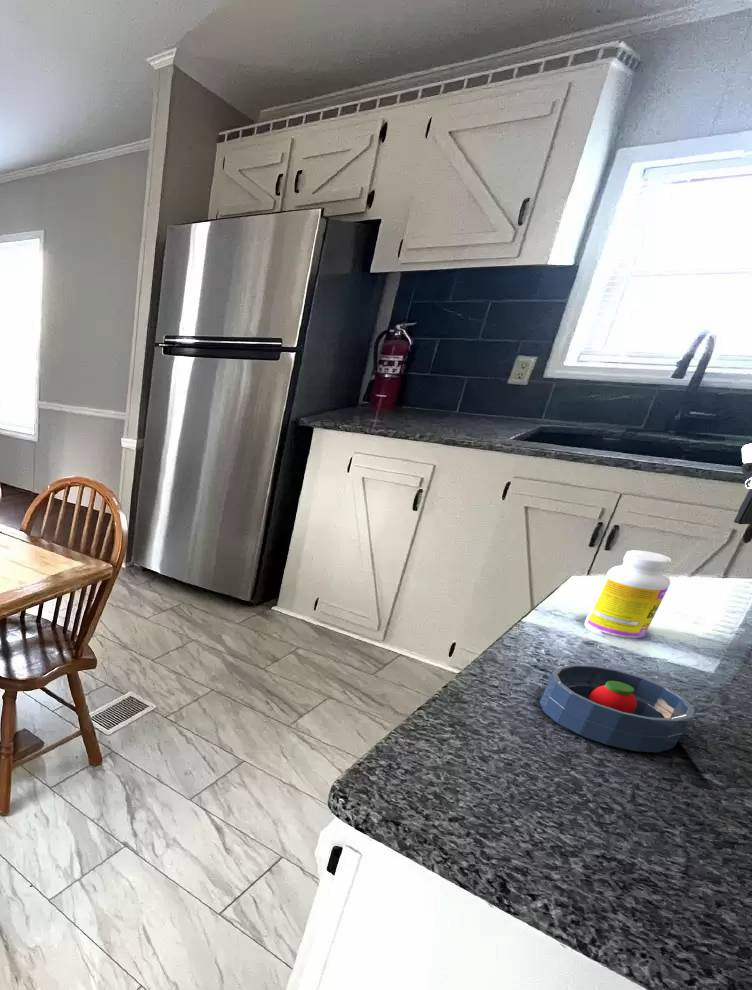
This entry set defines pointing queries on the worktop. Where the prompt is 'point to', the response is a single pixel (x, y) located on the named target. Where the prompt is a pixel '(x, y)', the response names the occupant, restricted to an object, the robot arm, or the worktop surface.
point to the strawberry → (615, 696)
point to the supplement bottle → (630, 595)
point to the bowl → (640, 731)
